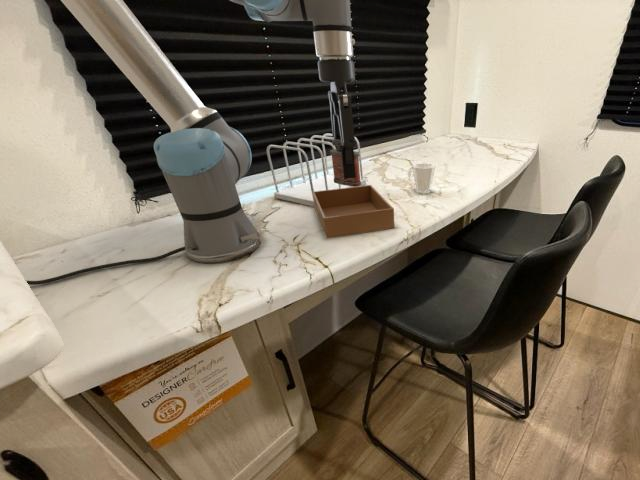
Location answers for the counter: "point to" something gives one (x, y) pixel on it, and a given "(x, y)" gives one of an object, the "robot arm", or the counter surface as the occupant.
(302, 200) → the file sorter
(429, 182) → the cup
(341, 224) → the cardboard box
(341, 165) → the lighter
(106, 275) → the counter surface
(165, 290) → the counter surface
